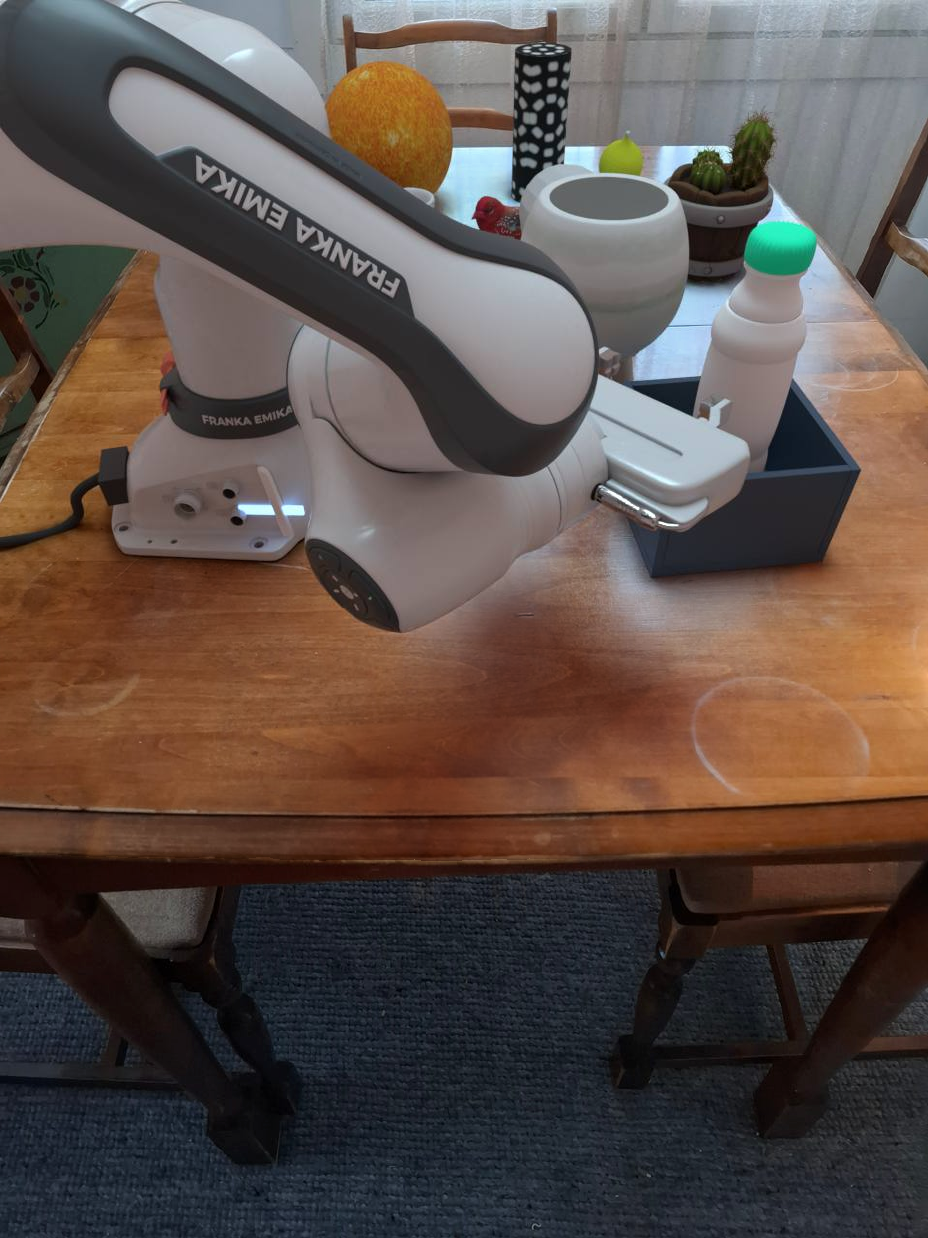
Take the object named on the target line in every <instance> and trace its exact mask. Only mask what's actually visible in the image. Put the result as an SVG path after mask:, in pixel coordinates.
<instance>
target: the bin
mask: <svg viewBox="0 0 928 1238" xmlns="http://www.w3.org/2000/svg"><path fill="white" fill-rule="evenodd" d="M700 378H701V375H695V376H693V375H692V376H682V377H681V376H680V377H669V378H656V379H644V380H634V381H631V382H630V381H628V382H622V384H621V385H624V386H626V387H628V388H630V389H632V390H635V391H637V392H639V393H641V394H643V395H646V396H648V397H650V398H652V399H654V400H657V401H659V402H661V403H663V404H665V405H668V406H670V407H672V408H674V409H676V410H679V411H681V412H683V413H685V414H687V415H690V416H692V417H693V412H694V406H695V401H696V396H697V391H698V387H699V383H700ZM861 472H862V468H861V467H860V466H859V464H858V463H857V461H856V460H855V459H854V458H853V456H852V454H850V451H848V450H847V448H846V447H845V446H844V444H843V443H842V441H841V440H840V439H839V438H838V436H837V435H836V434H835V432H834V431H833V430H832V429H831V427H830V425H829V424H828V423H827V422H826V420H825V419H824V417H822V415H821V413H819V411H818V410H817V407H815V405H814V404H813V403H812V402H811V400H810V398H808V397H807V395H806V393H805V392H804V391H803V390H802V388H801V387H800V386H799V384H798V383H797V382H796V381H795V379H794V377H792V381H791V385H790V388H789V392H788V395H787V398H786V401H785V405H784V408H783V411H782V414H781V417H780V420H779V422H778V425H777V428H776V431H775V433H774V436H773V438H772V440H771V443H770V445H769V447H768V455H767V461H766V464H765V468H764V471H763V472H758V473H747V475H746V478H745V481H744V484H743V486H742V488H741V491H740V492H739V494H738V495H737V496H736V497H735V498H733V499H732V500H731V501H729V502H728V503H726V504H725V505H723V506H722V507H720V508H719V509H717V510H715V511H714V512H712V513H711V514H709V515H707V516H705V517H703V518H702V519H701V520H700V521H698V522H697V523H696V524H695V525H693V526H692V527H691V528H690V529H688V530H686V531H683V532H677V531H671V530H664V529H661V528H657V529H656V530H649V529H646V528H644V527H642V526H640V525H639V524H637V523H636V522H635V521H634V520H633V519H631V518H630V517H627V519H628V522H629V525H630V528H631V530H632V532H633V535H634V537H635V540H636V542H637V545H638V547H639V550H640V552H641V555H642V559H643V560H644V563H645V565H646V568H647V571H648V574H649V576H650V577H651V578H658V577H667V576H670V577H671V576H679V575H689V574H690V575H691V574H700V573H701V574H702V573H712V572H713V573H714V572H723V571H733V570H735V571H736V570H744V569H755V568H765V567H767V568H768V567H777V566H788V565H799V564H809V563H820V562H823V561H824V559H825V558H826V557H825V556H826V554H827V552H828V549H829V547H830V545H831V542H832V541H833V538H834V535H835V534H836V531H837V528H838V526H839V524H840V521H841V519H842V517H843V514H844V512H845V510H846V507H847V506H848V503H849V500H850V498H851V495H852V493H853V490H854V488H855V486H856V484H857V481H858V479H859V476H860V474H861Z"/></svg>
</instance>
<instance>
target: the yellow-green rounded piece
mask: <svg viewBox="0 0 928 1238" xmlns="http://www.w3.org/2000/svg"><path fill="white" fill-rule="evenodd" d="M630 135H631V131H630V130H629V128H628V130H626V131H625V135H624V137H622V139H618V140H614V141H613V142H611V143H609V144H608V145H607V146H606V147H605V148H604V150H603V151H602V153H601V154H600V157H599V162H598V173H619V174H628V175H635V176H640V177H641V175H642V171H643V167H644V158H643V153H642V151H641V149H640V147H639V146H638V145H637V144H636V143H635V142H633V141H632V140H631V139H630Z"/></svg>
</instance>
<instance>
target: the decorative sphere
mask: <svg viewBox="0 0 928 1238" xmlns="http://www.w3.org/2000/svg"><path fill="white" fill-rule="evenodd" d="M324 106H325V109H326V113H327V117H328V124H329V134H330V139H331V140H333V141H334V142H336V143H337V144H339V145H340V146H342V147H343V148H345V149H346V150H348V151H349V152H350V153H352V154H353V155H355V156H356V157H358V158H359V159H361V160H362V161H364V162H365V163H367V164H368V165H370V166H371V167H373V168H374V169H376V170H377V171H379V172H380V173H382V174H383V175H384V176H386V177H387V178H389V179H390V180H392V181H393V182H395V183H396V184H398V185H399V186H401V187H402V188H419V189H423V190H426V191H429V192H430V193H432V194H433V196H435V194H436V193H437V192H438V190H440V188H441V186H442V185H443V183H444V181H445V179H446V177H447V175H448V172H449V169H450V166H451V163H452V162H451V161H452V156H453V150H454V148H453V147H454V136H453V135H454V134H453V127H452V122H451V118H450V115H449V112H448V109H447V106H446V104H445V102H444V100H443V98H442V97H441V95H440V93H439V92H438V90H437V89H436V88H435V86H434V85H433V84H432V83H431V81H429V80H428V79H427V78H426V77H425V76H424V75H422V74H421V73H420V72H419V71H417V70H415V69H414V68H412V67H410V66H408V65H405V64H402V63H399V62H397V61H388V60H377V61H372V62H371V61H370V62H367V63H364V64H362V65H359V66H357V67H355V68H354V69H352V70H350V71H349V72H347V73H346V74H345V75H344V76H342V78H341V79H340V80H339V81H338V82H337V83H336V85H335V86H334V87H333V89H332V90H331V92H330V94H329V96H328V97H327V99H326V102H325V104H324Z"/></svg>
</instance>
